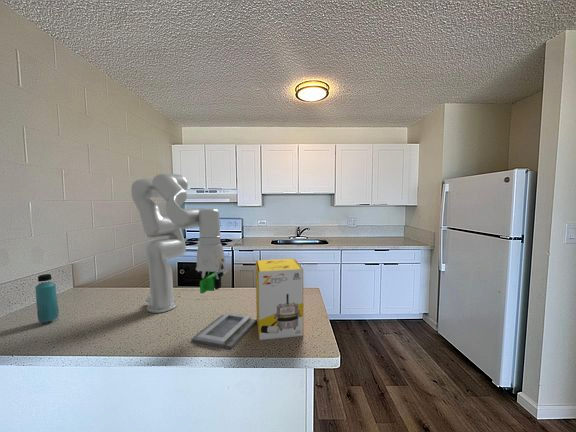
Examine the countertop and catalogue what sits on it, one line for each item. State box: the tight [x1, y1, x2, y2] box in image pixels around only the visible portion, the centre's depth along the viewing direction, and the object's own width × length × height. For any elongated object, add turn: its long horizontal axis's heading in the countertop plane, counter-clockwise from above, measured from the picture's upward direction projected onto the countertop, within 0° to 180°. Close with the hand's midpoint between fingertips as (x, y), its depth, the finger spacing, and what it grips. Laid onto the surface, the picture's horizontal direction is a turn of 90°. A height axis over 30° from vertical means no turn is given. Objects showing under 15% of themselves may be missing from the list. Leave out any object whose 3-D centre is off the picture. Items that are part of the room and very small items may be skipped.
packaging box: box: [255, 258, 304, 341], centre depth 103 cm, size 16×16×25 cm
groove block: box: [190, 312, 257, 350], centre depth 101 cm, size 16×20×2 cm
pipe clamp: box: [199, 272, 216, 294], centre depth 102 cm, size 11×4×5 cm, turn 169°
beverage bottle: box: [34, 273, 60, 323], centre depth 109 cm, size 6×7×20 cm
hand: (212, 287), depth 103 cm, fingers closed on pipe clamp, 4 cm apart
